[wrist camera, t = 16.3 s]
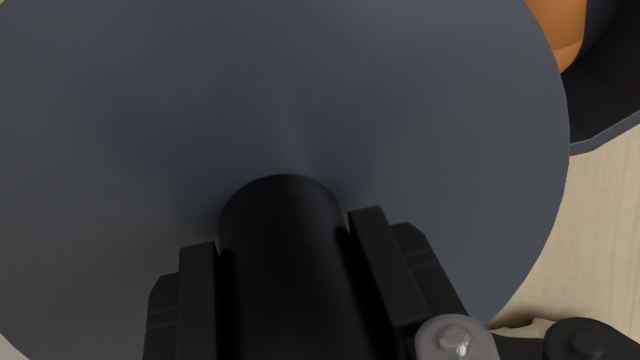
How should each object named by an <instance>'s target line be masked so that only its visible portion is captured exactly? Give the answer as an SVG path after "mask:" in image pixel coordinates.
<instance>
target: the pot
mask: <svg viewBox="0 0 640 360" xmlns="http://www.w3.org/2000/svg"><path fill="white" fill-rule="evenodd" d="M560 75H561V79H562V83H563V86H564V90H565V93H566V99H567V108H568V116H569V125H570V146H569V156H574V155H578V154H582V153H587V152H590V151H593V150H595V149H597V148H598V147H600V146H602V145H603V144H605V143H607V142H609V141H610V140H612V139H614V138H616V137H617V136H619V135H621V134H622V133H624V132H626V131H628V130H629V129H631V128H633V127H635V126H636V125H638V124H640V0H587V4H586V15H585V27H584V36H583V41H582V45H581V47H580V50H579V52H578V54H577V56H576V58H575V59H574V60H573V62H572V63H571V64H570V65H569V66H568V67H567V68H566V69H565V70H564V71H563V72H562V73H561V74H560Z"/></svg>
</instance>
